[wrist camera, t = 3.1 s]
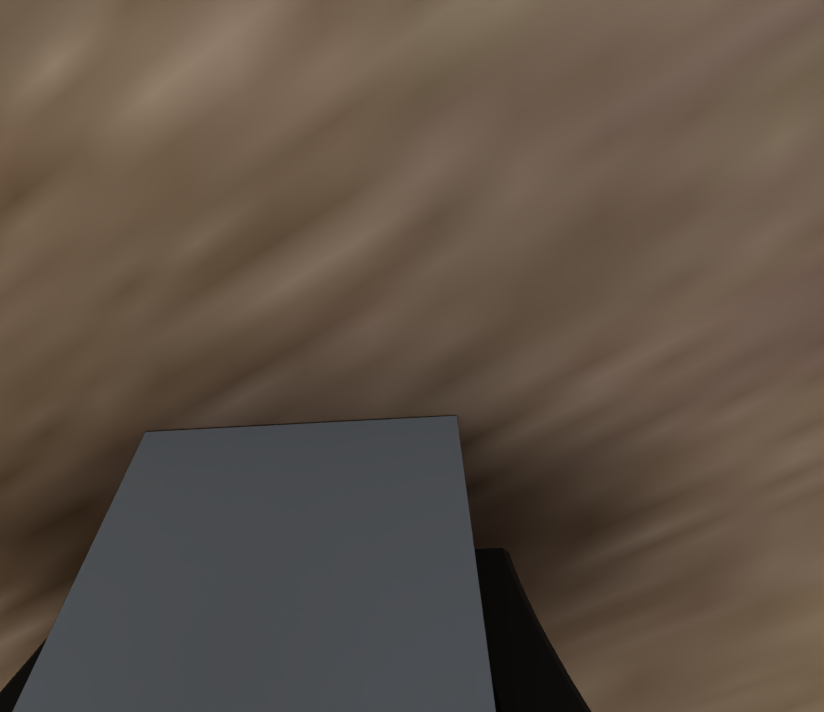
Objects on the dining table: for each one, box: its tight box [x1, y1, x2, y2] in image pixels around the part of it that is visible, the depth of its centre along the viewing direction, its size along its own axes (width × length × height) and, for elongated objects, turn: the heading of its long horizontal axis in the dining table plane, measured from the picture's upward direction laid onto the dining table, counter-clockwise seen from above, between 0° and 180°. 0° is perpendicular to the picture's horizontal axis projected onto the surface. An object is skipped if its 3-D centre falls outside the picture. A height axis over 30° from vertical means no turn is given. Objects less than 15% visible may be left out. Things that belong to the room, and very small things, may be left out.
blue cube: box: [12, 416, 496, 712], centre depth 11 cm, size 5×5×5 cm
